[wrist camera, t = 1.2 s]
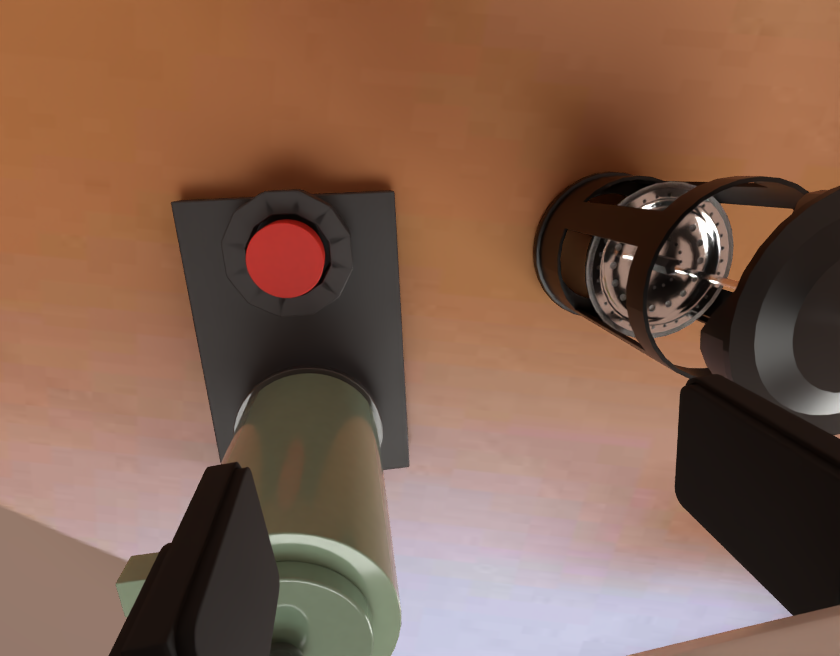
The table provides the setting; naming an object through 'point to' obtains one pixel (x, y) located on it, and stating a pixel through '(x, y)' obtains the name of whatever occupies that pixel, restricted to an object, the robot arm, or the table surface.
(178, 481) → the table surface
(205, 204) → the base
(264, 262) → the power button
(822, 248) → the french press
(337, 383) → the kettle
